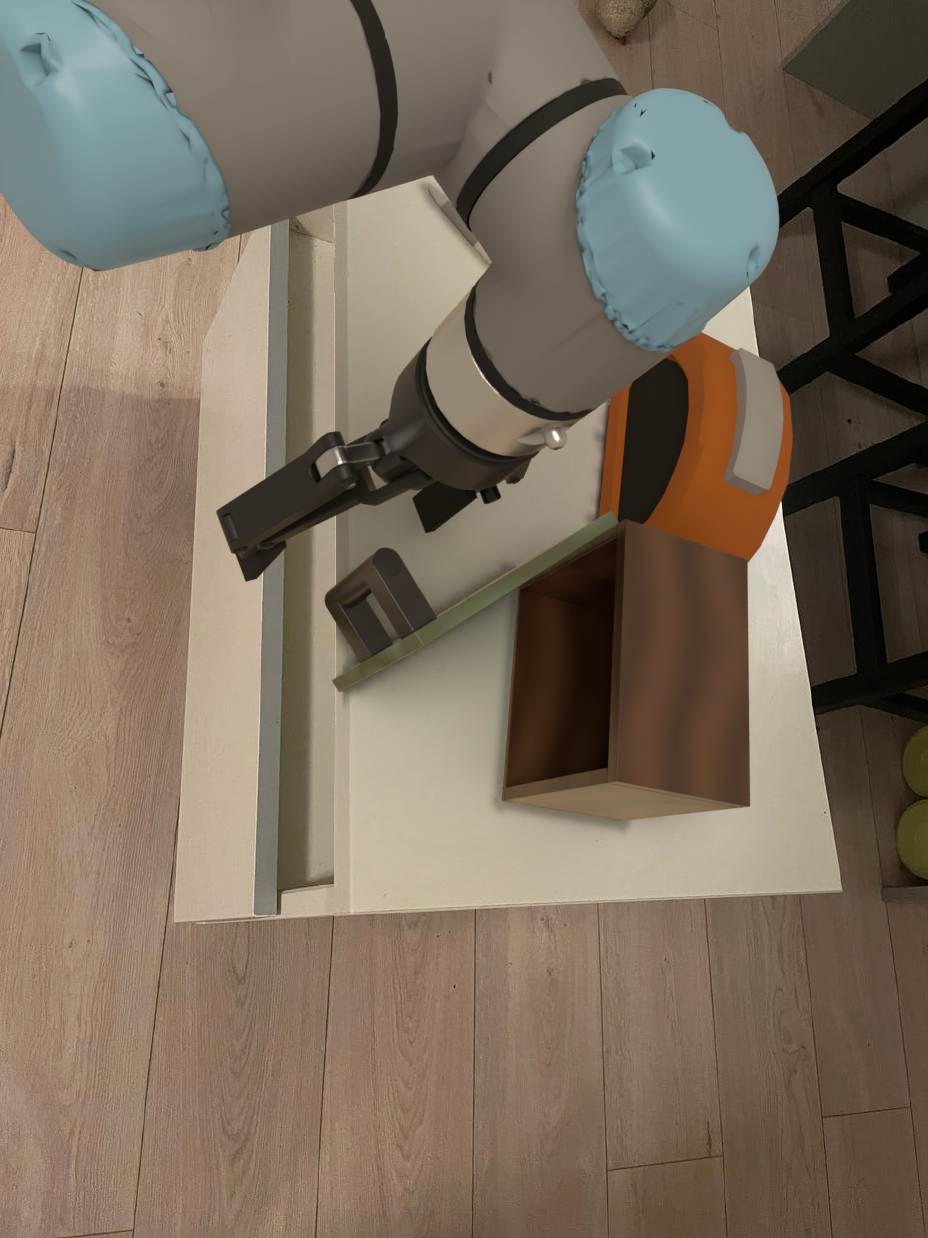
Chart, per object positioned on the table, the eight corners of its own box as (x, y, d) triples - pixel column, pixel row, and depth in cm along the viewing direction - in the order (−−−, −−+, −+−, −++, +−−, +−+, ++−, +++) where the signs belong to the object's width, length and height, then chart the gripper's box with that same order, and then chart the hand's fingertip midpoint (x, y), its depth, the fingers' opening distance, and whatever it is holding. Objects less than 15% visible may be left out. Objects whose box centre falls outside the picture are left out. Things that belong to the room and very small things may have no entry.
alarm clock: (603, 365, 87) (728, 261, 73) (678, 400, 90) (811, 308, 76) (580, 593, 79) (715, 527, 65) (663, 623, 82) (809, 566, 68)
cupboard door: (289, 615, 66) (364, 550, 53) (469, 515, 75) (570, 440, 63) (336, 693, 66) (423, 646, 54) (511, 584, 76) (619, 522, 63)
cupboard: (497, 801, 70) (616, 781, 57) (514, 581, 76) (626, 518, 63) (616, 821, 75) (750, 807, 62) (623, 612, 80) (747, 559, 68)
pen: (525, 317, 84) (534, 308, 83) (421, 195, 82) (428, 184, 81) (532, 311, 84) (540, 303, 83) (428, 190, 82) (434, 180, 81)
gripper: (279, 518, 37) (176, 641, 55) (700, 419, 50) (505, 544, 68) (215, 349, 38) (134, 525, 56) (648, 294, 51) (468, 451, 69)
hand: (338, 536), depth 62 cm, fingers open, 13 cm apart
